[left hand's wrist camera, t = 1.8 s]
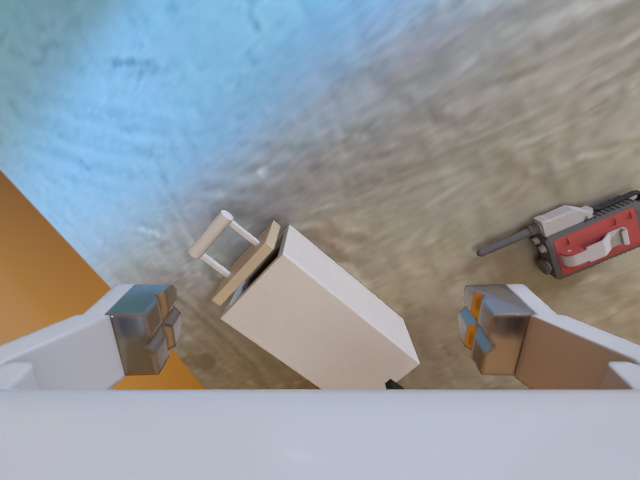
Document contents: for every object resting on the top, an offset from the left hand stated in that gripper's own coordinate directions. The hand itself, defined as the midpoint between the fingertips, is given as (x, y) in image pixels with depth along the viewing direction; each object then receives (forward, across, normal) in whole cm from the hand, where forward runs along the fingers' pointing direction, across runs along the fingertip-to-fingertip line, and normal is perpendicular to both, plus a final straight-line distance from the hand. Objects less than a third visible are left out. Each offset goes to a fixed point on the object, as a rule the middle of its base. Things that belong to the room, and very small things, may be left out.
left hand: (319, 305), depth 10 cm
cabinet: (+34, 0, +21) cm, 40 cm away
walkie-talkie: (+34, -30, +11) cm, 47 cm away
